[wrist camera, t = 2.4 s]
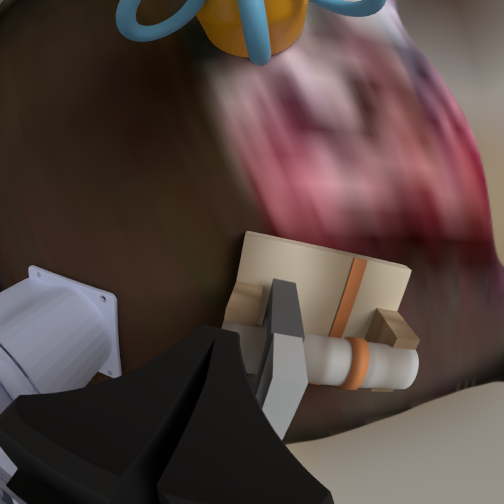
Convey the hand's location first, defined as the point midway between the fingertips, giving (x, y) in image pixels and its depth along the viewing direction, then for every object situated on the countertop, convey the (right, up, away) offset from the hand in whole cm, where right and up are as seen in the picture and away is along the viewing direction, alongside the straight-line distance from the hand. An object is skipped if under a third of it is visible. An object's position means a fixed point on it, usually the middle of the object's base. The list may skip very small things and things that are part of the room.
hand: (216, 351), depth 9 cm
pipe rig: (+5, -1, +8) cm, 9 cm away
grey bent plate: (+2, -1, +6) cm, 6 cm away
